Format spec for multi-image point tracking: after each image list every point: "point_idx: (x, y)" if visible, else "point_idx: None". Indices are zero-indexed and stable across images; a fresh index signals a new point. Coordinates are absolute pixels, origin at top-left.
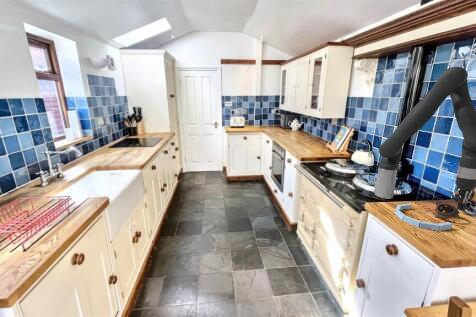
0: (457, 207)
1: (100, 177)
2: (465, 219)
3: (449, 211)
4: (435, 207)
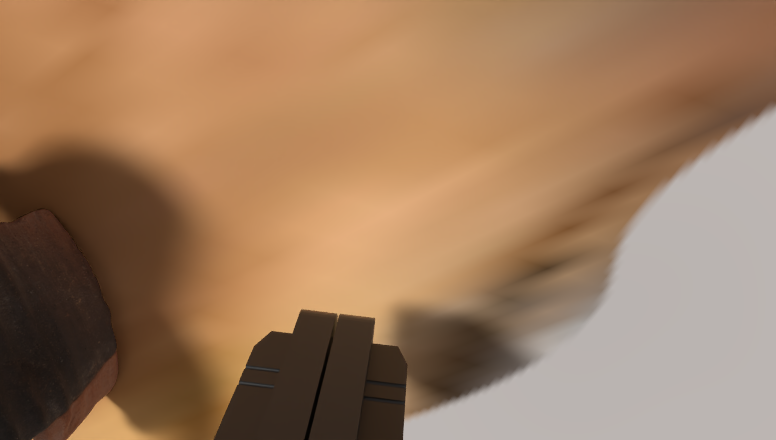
0: (255, 351)
1: None
2: (197, 433)
3: (6, 314)
4: None
